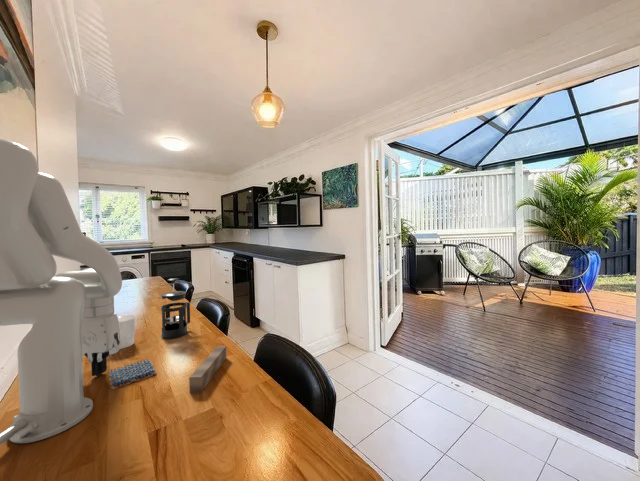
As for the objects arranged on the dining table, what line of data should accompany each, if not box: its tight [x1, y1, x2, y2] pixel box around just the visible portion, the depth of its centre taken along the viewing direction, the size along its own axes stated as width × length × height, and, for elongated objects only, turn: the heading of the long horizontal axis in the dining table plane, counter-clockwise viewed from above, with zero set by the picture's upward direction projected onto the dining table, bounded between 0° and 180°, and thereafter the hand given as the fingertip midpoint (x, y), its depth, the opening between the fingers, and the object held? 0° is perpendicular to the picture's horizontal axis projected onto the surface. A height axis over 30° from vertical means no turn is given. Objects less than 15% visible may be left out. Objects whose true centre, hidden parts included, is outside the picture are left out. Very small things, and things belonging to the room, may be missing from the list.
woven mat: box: [107, 359, 158, 390], centre depth 73 cm, size 10×11×2 cm
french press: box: [160, 277, 191, 340], centre depth 103 cm, size 12×9×23 cm
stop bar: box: [188, 345, 227, 394], centre depth 74 cm, size 18×3×4 cm, turn 1°
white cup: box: [117, 314, 136, 350], centre depth 93 cm, size 8×8×10 cm
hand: (99, 373), depth 73 cm, fingers closed
